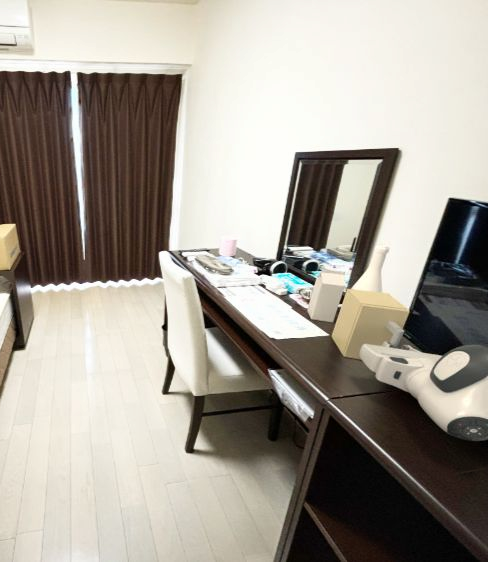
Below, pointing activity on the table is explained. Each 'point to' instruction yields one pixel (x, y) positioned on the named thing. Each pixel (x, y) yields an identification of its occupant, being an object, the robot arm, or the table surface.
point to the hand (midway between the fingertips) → (395, 345)
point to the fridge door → (375, 328)
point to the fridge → (351, 311)
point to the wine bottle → (373, 272)
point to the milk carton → (326, 295)
